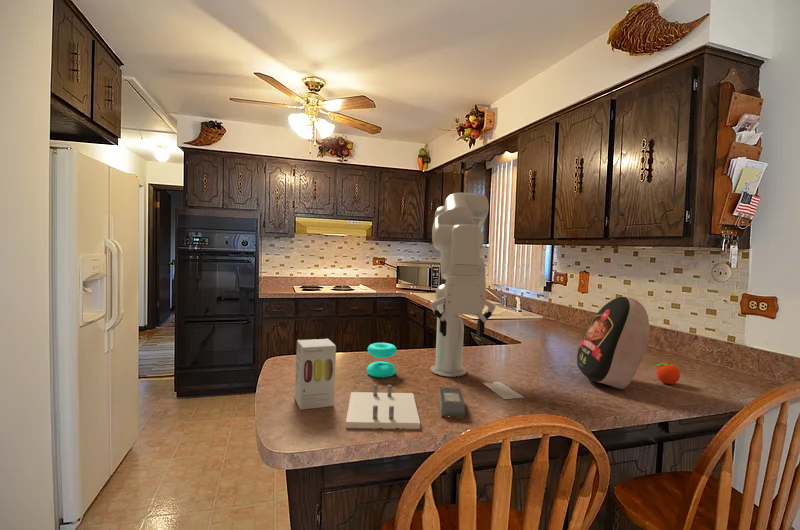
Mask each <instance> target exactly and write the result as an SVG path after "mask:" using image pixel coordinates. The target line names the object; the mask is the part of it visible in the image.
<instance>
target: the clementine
mask: <svg viewBox="0 0 800 530" xmlns="http://www.w3.org/2000/svg"><path fill="white" fill-rule="evenodd" d="M657 366H658V367H657ZM655 367H657V368H656V376H657V378H658V380H659V381H660V382H661V383H664V384H667V385H673V384H676V383H677V382H678V381H679V379H680V378H681V373H680V370H679V369H678V368H677V366H675V365H674V364H670V363H663V362H662V363H658V364H656V365H655V366H654V367H653V369H655Z"/></svg>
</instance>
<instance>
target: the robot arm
mask: <svg viewBox="0 0 800 530" xmlns="http://www.w3.org/2000/svg"><path fill="white" fill-rule="evenodd" d="M489 207H490V204H489V200H488V198H487V196H486V195H485V194H483V193H479V192H454V193H451V194H449V195H448V196H447V197H446V198H445V201H444V205H441V206H439V207H437V209H436V210H435V212H434V220H433V223H432V228H431V229H432V230H431V232H432V234H431V238H432V239H431V241H432V245H433V248H434V249H435V250H437V251H438V252H440V275H441V277H442V279H444V280H445V283H442V284H439V286H437V288H436V290H435V301H432V302H430V305H429V306H430V307H431V310H432V312H433V313H434V315H435V316H436V337H435V339H436V343H435V363H434V364H432V365H431V366H430V372H432V374H435V375H437V374H438V376H441V377H448V378H452V377H453V378H454V377H456V376H457V377H462V376H465V375H466V374H467V369H466V368H465V367H464V366H463V354H464V352H463V350H464V330H465V328H464V327H465V325H464V324H465V323H464V321H463V319H462V317H461V315H462V316H463V315H466V316H468V315H469V316H470V315H471V316H475V315H476V317H477V318H478V320H477V321H476V335H477V336H478V337H479V338H483V334H484V333H485V327H486V326H485V324H486V322H487V320H488V319H489V318H491V316H492V315H493V313H494V311H495V310H496V305H495V304H494V303H491V302H490V301H488V300H487V296H486V295H487V289H486V285H487V283H486V280H487V279H486V264H485V260H484V259H483V258H482V256H481V255H480V254H481V253H480V252H481V249H482V248H481V247H483V245H484V232H483V231H482V230H481V228H483V225H484V223H485V220H486V219H487V217H488V214H489V210H490V208H489ZM485 306H486V307H487V310H486V311H485V312H484V313H483V311H484V309H485Z"/></svg>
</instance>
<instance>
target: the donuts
mask: <svg viewBox="0 0 800 530" xmlns="http://www.w3.org/2000/svg"><path fill="white" fill-rule="evenodd" d="M367 352H368V354H369V355H370V356H372V357H374V358H380V359H381V358H382V359H387V358H391V357H393V356H394V355H396V353H397V352H398V351H397V346H395V345H394V344H392V343H388V342H374V343H371V344H369V345H368V347H367ZM396 368H397V367H396V366H395V364H393V363H391V362H388V361H374V362H371V363H370V364H369V365H368V366H367V368H366V372H367V374H368V375H370V376H371V377H374V378H380V377H381V379H382V378H388V377H389V378H390V377H392V376H394V375H395V374H396V372H397V369H396Z"/></svg>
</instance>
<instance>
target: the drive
mask: <svg viewBox="0 0 800 530" xmlns="http://www.w3.org/2000/svg"><path fill="white" fill-rule="evenodd" d="M438 391H439V393H438V403H439V402H440V404H439V411H440V410H441V411H440V417H441V416H447V417H446V418H451V417H460V418H459V419H465V411H466V410H465V409H466V407H465V406H466V403H465V400H464V397H463V393H462V390H461V388H458V387H441V386H440V387H439V390H438ZM448 416H450V417H448Z"/></svg>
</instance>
